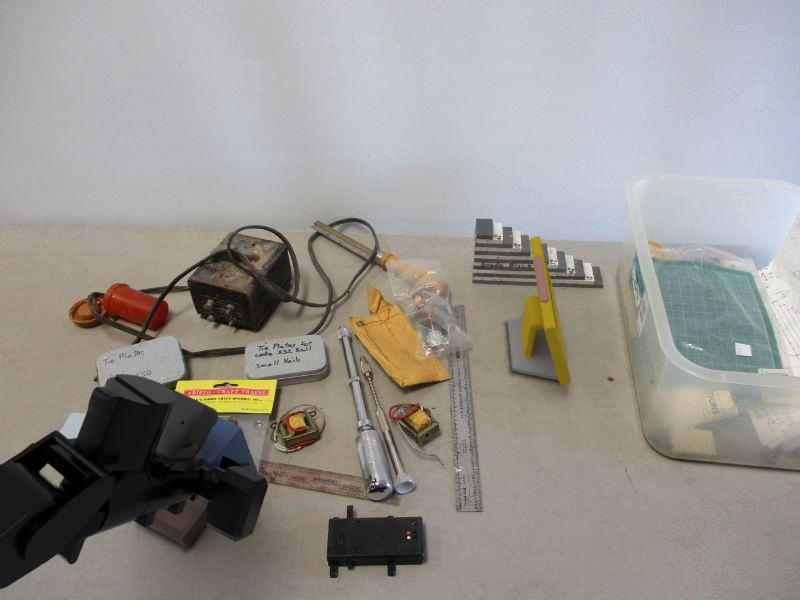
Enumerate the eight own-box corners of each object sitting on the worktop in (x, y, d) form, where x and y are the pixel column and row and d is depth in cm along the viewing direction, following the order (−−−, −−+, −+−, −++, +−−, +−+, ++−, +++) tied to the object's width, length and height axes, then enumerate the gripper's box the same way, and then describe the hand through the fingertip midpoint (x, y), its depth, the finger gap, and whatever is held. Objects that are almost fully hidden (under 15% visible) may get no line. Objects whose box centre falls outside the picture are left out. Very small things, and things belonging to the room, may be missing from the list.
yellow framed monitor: (566, 398, 89) (587, 325, 78) (514, 395, 90) (527, 324, 79) (550, 306, 104) (566, 234, 93) (505, 304, 104) (515, 233, 93)
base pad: (188, 550, 73) (181, 540, 71) (139, 523, 76) (131, 512, 74) (228, 496, 79) (223, 484, 77) (181, 472, 81) (175, 461, 79)
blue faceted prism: (238, 525, 69) (209, 463, 60) (205, 507, 70) (173, 445, 62) (264, 490, 72) (241, 427, 63) (233, 474, 74) (205, 410, 65)
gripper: (235, 444, 49) (320, 422, 64) (78, 369, 56) (189, 365, 71) (195, 568, 50) (289, 518, 64) (44, 479, 56) (161, 452, 71)
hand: (230, 459), depth 68 cm, fingers closed on blue faceted prism, 5 cm apart
